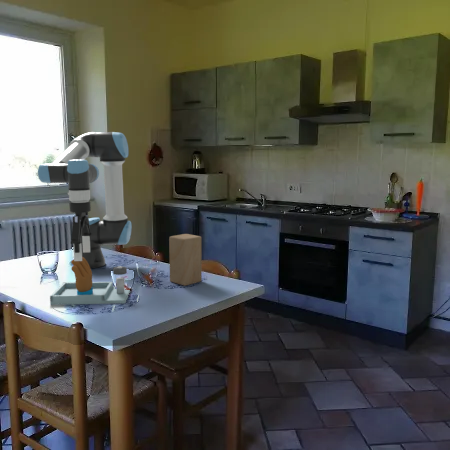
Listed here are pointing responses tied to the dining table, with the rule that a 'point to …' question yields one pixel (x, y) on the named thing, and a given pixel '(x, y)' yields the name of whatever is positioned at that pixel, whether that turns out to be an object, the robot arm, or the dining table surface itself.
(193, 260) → the wooden block
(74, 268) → the toy
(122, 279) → the tray
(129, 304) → the dining table surface
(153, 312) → the dining table surface
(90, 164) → the robot arm
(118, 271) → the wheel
